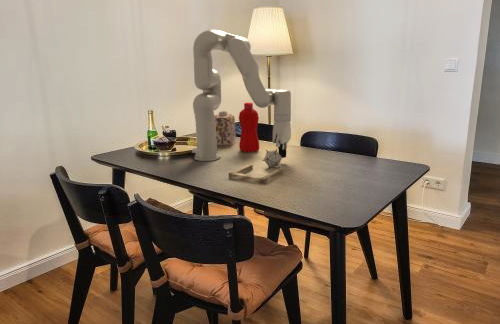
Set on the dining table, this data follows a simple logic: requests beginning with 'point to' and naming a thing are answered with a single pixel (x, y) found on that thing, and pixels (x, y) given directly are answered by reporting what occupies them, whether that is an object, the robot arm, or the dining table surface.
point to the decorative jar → (225, 128)
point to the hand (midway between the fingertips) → (282, 157)
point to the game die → (272, 158)
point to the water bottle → (248, 129)
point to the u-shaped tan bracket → (240, 175)
